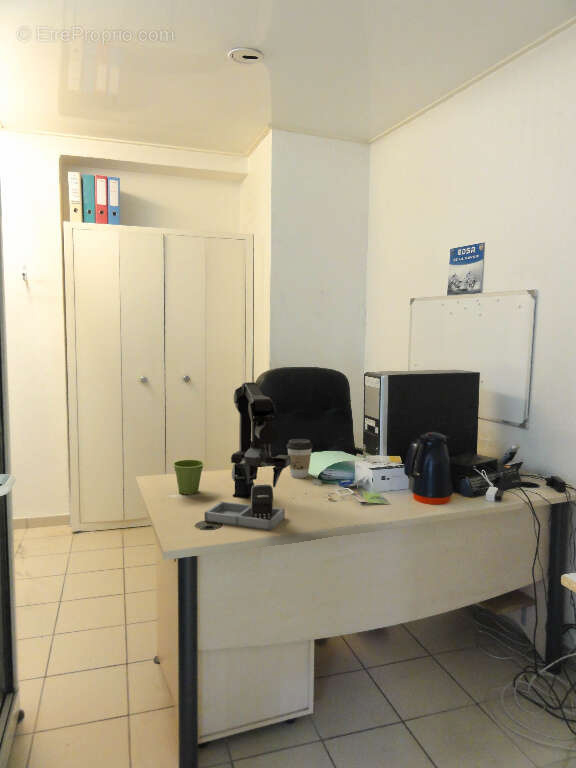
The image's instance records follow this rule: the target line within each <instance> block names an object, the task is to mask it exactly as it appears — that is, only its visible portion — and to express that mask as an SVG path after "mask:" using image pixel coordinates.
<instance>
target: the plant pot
mask: <svg viewBox="0 0 576 768" xmlns="http://www.w3.org/2000/svg"><path fill="white" fill-rule="evenodd" d="M172 466H173V467H174V472H175V475H176V481H177V487H178V493H179V492H180V493H179V494H183V495H185V494H188V495H194V494H193V493H196V492H197V493H198V492H199V490H200V484H201V483H200V482H201V476H202V471H203V469H204V466H205V462H204V461H202V460H200V459H199V460H198V459H181V460H176V461H174V462H173V463H172Z"/></svg>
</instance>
